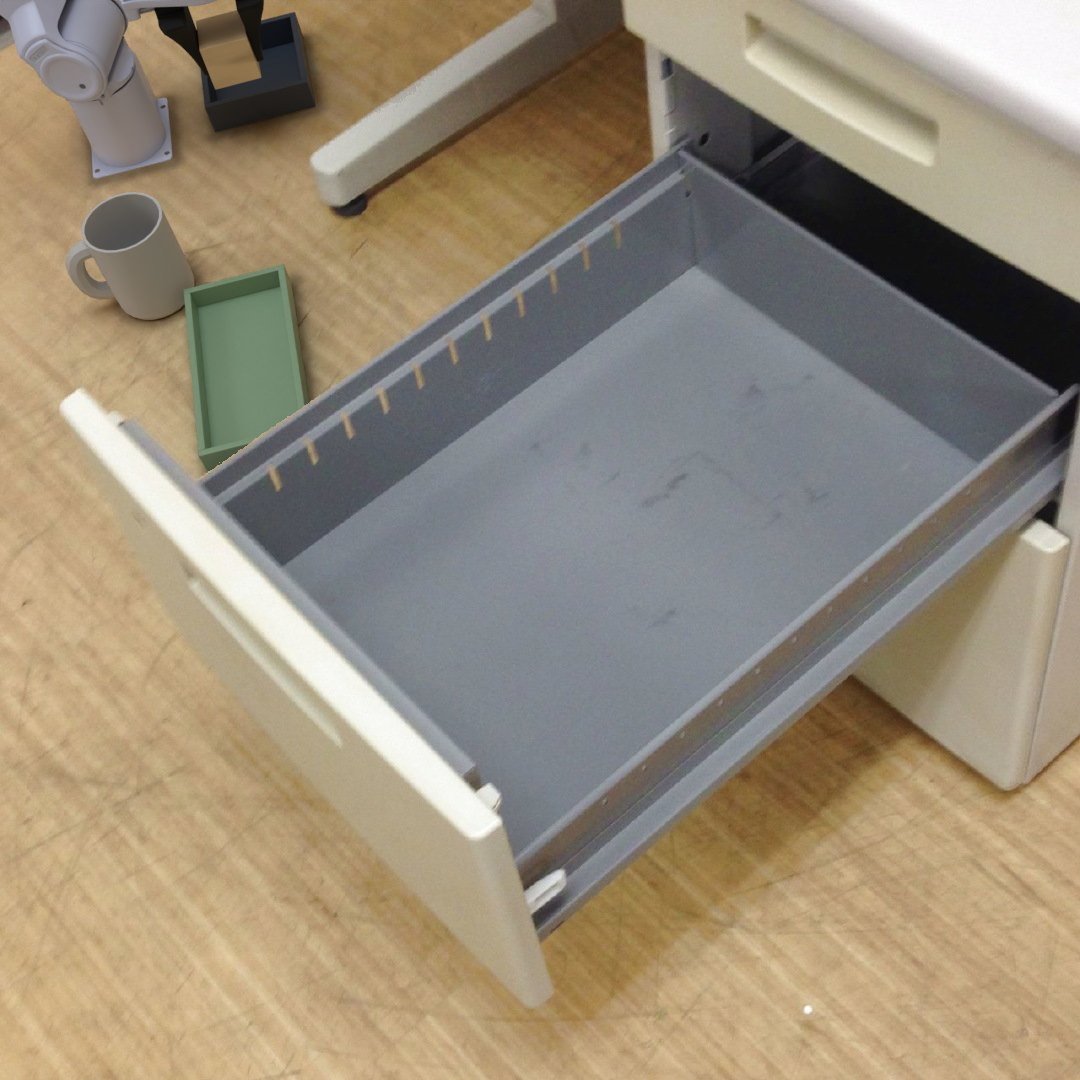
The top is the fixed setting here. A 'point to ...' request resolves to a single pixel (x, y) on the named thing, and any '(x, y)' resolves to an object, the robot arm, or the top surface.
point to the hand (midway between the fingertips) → (233, 61)
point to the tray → (243, 359)
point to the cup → (132, 257)
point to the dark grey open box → (266, 80)
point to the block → (227, 50)
